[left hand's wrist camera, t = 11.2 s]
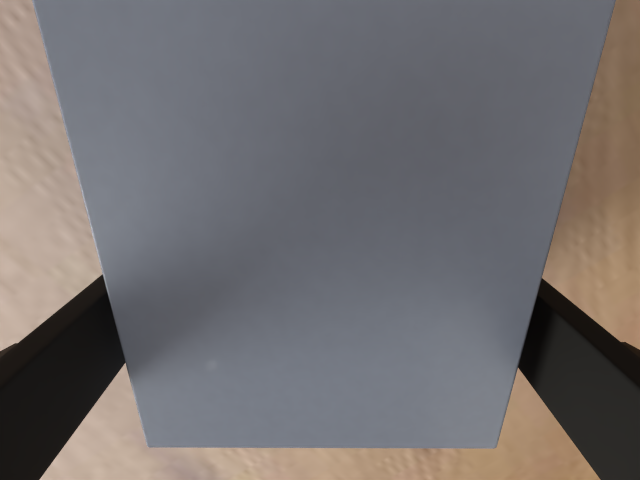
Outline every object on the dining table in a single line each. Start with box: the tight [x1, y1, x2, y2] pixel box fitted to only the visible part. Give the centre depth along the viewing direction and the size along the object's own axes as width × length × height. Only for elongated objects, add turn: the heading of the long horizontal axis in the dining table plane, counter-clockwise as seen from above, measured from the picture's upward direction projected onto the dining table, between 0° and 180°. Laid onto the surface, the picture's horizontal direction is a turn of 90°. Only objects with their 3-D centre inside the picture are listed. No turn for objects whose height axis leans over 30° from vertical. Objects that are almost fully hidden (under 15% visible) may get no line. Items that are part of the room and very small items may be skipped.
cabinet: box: [32, 0, 616, 448], centre depth 12 cm, size 19×11×8 cm, turn 0°
